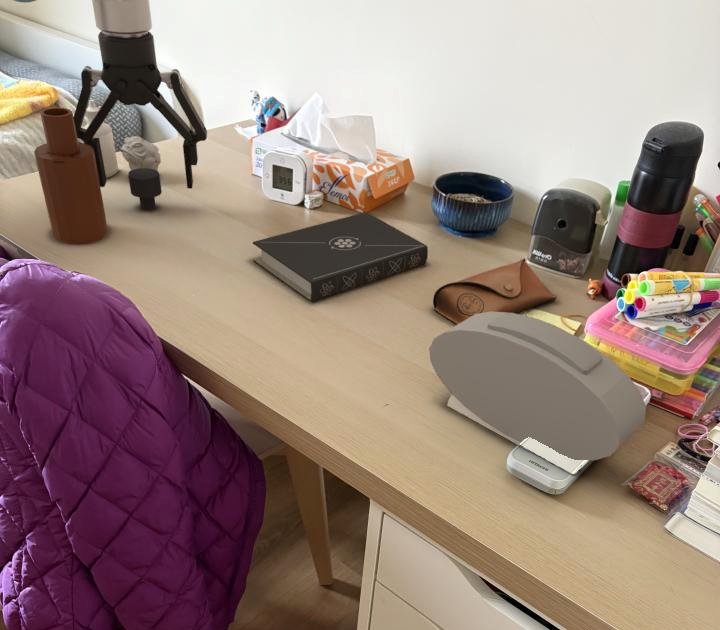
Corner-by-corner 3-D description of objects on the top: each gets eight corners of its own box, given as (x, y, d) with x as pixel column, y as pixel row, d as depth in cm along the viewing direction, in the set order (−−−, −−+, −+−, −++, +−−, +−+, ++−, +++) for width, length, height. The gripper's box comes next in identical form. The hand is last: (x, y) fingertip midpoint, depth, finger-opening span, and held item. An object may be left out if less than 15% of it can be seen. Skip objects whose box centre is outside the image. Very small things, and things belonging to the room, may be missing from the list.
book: (312, 303, 98) (313, 283, 96) (252, 261, 106) (252, 241, 104) (427, 265, 109) (429, 246, 107) (364, 229, 117) (366, 211, 115)
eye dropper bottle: (123, 176, 126) (112, 102, 118) (92, 181, 123) (78, 105, 115) (115, 168, 129) (103, 95, 120) (83, 172, 126) (69, 98, 118)
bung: (131, 213, 115) (126, 178, 111) (134, 201, 118) (130, 167, 115) (162, 214, 116) (157, 179, 112) (164, 202, 119) (160, 168, 115)
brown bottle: (48, 243, 105) (19, 119, 94) (58, 221, 111) (32, 102, 99) (103, 244, 106) (81, 122, 95) (110, 222, 112) (90, 104, 100)
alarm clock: (625, 466, 77) (668, 367, 68) (598, 494, 73) (640, 392, 64) (452, 375, 87) (471, 278, 79) (421, 395, 84) (437, 296, 75)
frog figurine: (116, 177, 125) (110, 135, 121) (149, 168, 130) (144, 127, 125) (138, 187, 123) (132, 145, 118) (171, 178, 127) (166, 136, 122)
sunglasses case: (475, 332, 94) (464, 281, 92) (439, 335, 100) (428, 288, 98) (561, 297, 103) (553, 250, 101) (524, 302, 109) (515, 257, 107)
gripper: (216, 29, 104) (226, 177, 119) (37, 21, 101) (70, 174, 116) (214, 41, 99) (225, 194, 113) (25, 33, 96) (61, 192, 110)
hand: (147, 184), depth 115 cm, fingers open, 13 cm apart
